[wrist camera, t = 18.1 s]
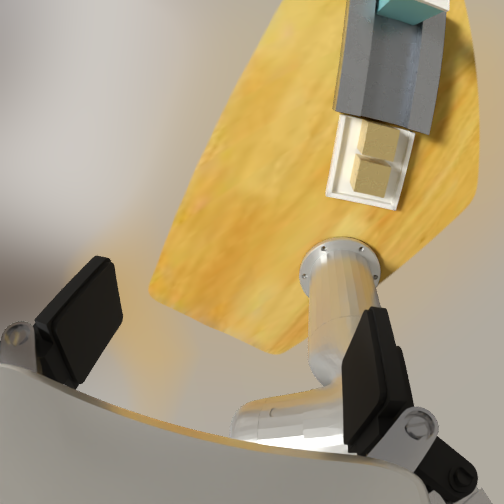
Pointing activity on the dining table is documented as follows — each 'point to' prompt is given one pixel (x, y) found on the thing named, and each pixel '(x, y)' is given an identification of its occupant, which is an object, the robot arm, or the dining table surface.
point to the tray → (348, 148)
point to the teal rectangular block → (411, 9)
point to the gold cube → (378, 140)
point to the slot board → (389, 67)
